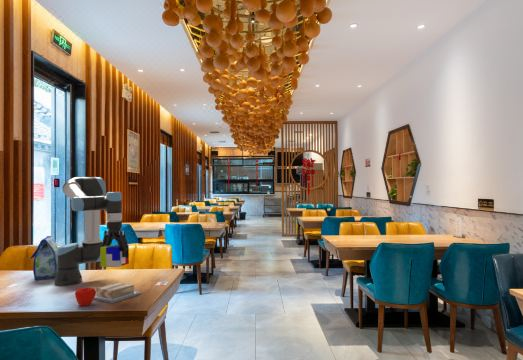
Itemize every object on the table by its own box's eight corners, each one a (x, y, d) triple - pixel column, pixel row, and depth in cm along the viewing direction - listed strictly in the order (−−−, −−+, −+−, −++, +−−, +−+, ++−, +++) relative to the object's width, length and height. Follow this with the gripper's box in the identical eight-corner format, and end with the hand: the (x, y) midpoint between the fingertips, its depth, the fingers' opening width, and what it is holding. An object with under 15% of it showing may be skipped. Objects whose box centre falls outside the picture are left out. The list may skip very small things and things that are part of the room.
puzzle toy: (118, 267, 192) (117, 247, 192) (100, 267, 194) (100, 247, 194) (128, 263, 201) (128, 244, 202) (112, 263, 203) (111, 244, 204)
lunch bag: (36, 274, 257) (36, 236, 258) (63, 272, 263) (63, 234, 263) (29, 281, 236) (28, 239, 237) (59, 278, 242) (58, 238, 243)
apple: (98, 301, 188) (98, 286, 188) (91, 307, 179) (90, 290, 179) (80, 302, 188) (80, 286, 188) (71, 307, 179) (71, 291, 179)
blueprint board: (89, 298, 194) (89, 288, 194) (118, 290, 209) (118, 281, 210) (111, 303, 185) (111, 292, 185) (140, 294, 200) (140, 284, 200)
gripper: (93, 221, 201) (94, 262, 200) (123, 222, 189) (124, 265, 188) (105, 220, 208) (106, 259, 207) (135, 221, 195) (136, 263, 195)
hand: (115, 262), depth 198 cm, fingers closed on puzzle toy, 12 cm apart
